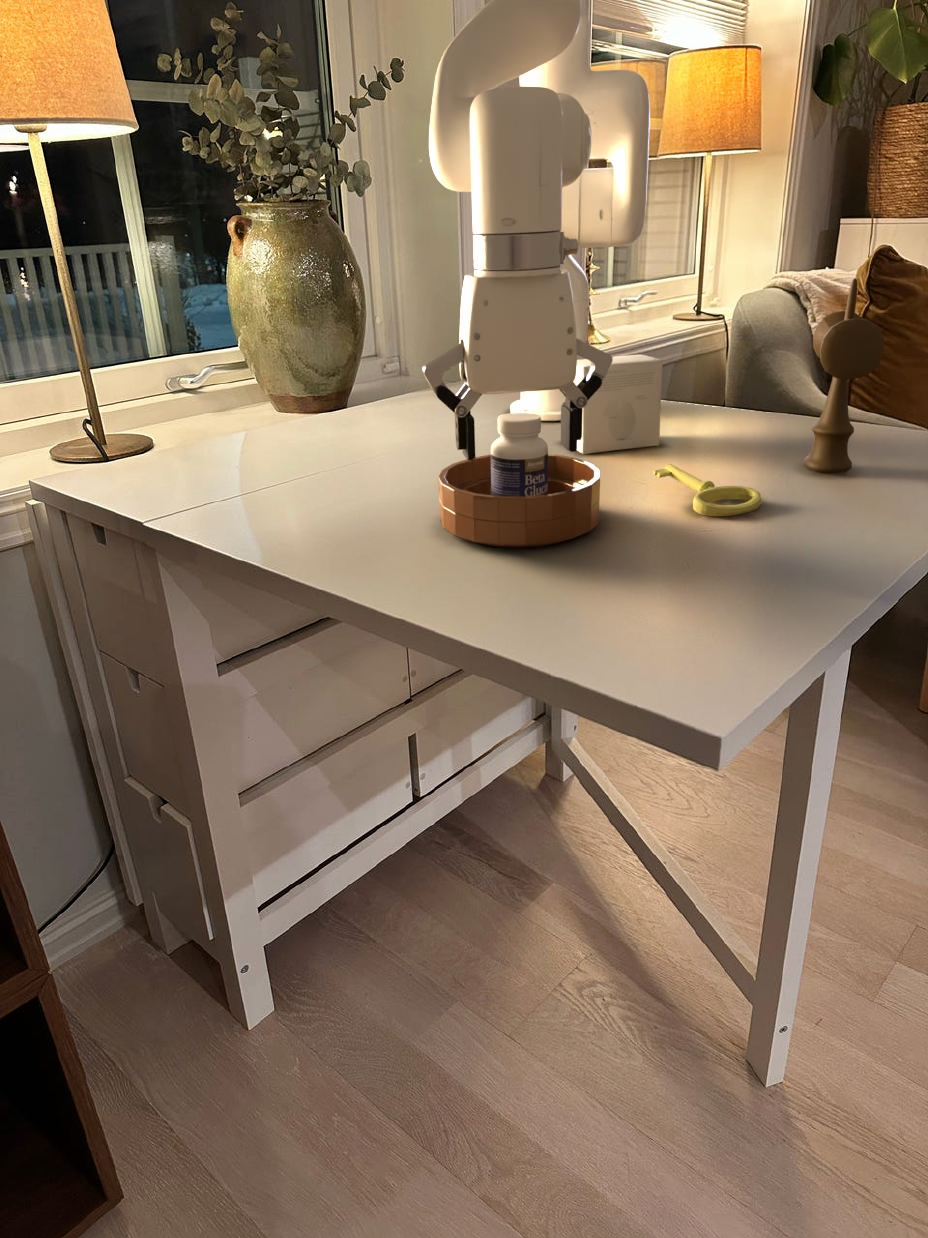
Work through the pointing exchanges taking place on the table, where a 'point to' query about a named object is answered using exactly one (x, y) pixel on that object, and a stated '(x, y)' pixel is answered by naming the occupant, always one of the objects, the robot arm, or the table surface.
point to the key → (713, 494)
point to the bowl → (519, 504)
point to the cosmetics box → (622, 405)
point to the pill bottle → (519, 457)
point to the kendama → (841, 380)
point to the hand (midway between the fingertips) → (519, 452)
